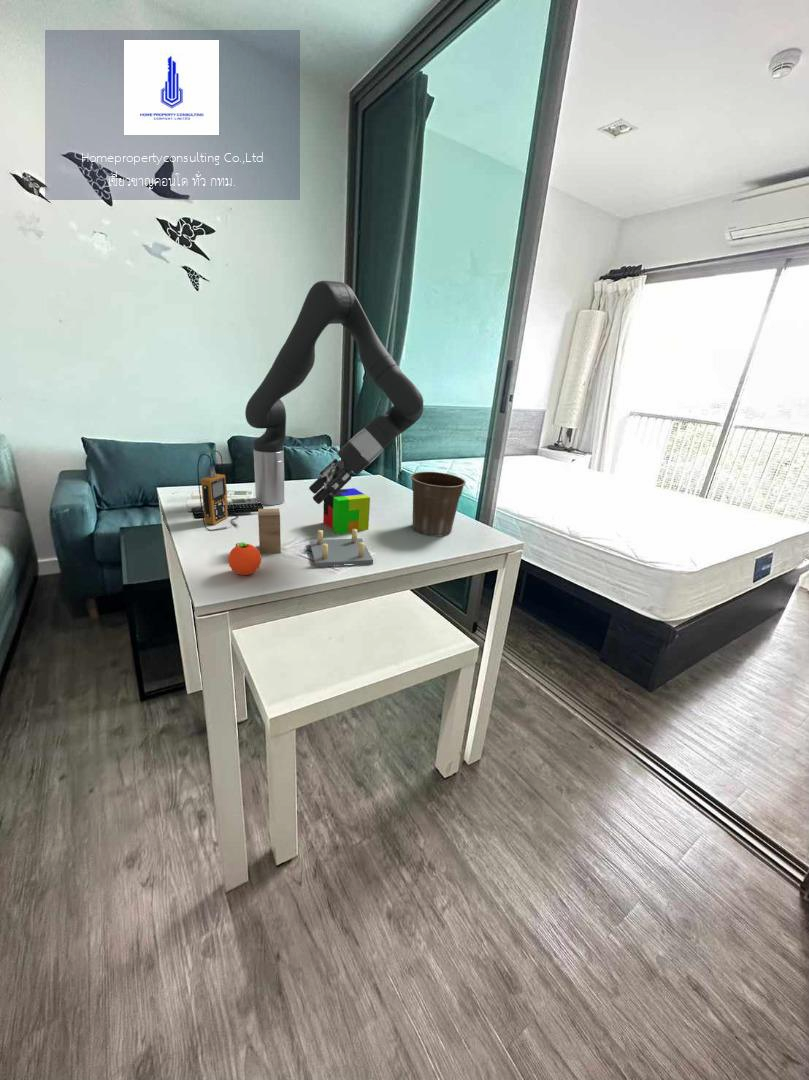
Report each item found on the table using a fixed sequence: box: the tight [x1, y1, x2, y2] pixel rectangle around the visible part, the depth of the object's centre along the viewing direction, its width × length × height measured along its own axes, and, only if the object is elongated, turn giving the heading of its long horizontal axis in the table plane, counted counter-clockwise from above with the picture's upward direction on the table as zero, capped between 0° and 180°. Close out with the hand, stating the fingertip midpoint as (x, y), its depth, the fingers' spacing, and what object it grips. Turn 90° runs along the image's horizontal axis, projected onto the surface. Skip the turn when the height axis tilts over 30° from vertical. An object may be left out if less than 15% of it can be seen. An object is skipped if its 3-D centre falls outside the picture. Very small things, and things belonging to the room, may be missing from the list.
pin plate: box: [308, 529, 374, 568], centre depth 111 cm, size 14×14×5 cm
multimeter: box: [196, 450, 240, 531], centre depth 121 cm, size 15×10×20 cm
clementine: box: [227, 542, 262, 576], centre depth 97 cm, size 8×7×7 cm
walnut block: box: [257, 508, 282, 555], centre depth 109 cm, size 5×5×10 cm
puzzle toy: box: [322, 487, 371, 535], centre depth 129 cm, size 10×10×10 cm
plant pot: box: [410, 471, 467, 536], centre depth 131 cm, size 16×16×16 cm
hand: (313, 496), depth 109 cm, fingers open, 8 cm apart
